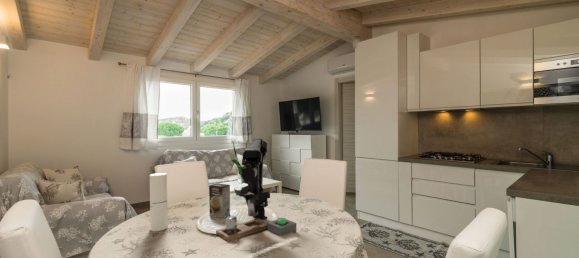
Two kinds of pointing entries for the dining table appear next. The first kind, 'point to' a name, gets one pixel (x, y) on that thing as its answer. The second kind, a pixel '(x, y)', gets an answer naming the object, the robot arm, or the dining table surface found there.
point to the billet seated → (231, 225)
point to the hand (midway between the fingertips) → (253, 211)
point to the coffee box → (219, 200)
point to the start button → (281, 221)
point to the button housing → (281, 227)
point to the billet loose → (251, 208)
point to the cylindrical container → (158, 201)
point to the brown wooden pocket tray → (243, 229)
